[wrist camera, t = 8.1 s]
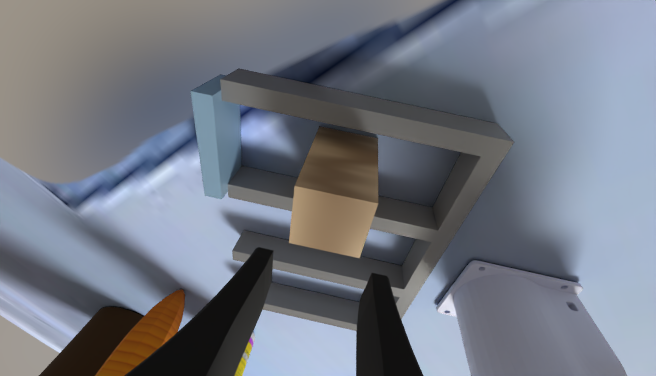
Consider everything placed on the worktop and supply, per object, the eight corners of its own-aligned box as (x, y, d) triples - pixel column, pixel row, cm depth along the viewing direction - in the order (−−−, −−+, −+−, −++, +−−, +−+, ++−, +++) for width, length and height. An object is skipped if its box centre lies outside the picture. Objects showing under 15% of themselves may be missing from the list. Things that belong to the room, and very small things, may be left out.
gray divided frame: (497, 123, 17) (521, 150, 14) (388, 315, 30) (389, 348, 28) (219, 64, 17) (188, 79, 14) (234, 280, 31) (220, 309, 28)
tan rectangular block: (377, 138, 18) (378, 203, 13) (364, 185, 21) (359, 258, 15) (319, 126, 19) (294, 185, 13) (312, 174, 21) (288, 242, 15)
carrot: (153, 280, 33) (27, 446, 21) (183, 274, 32) (63, 450, 19) (181, 304, 36) (81, 464, 24) (210, 299, 34) (118, 469, 22)
